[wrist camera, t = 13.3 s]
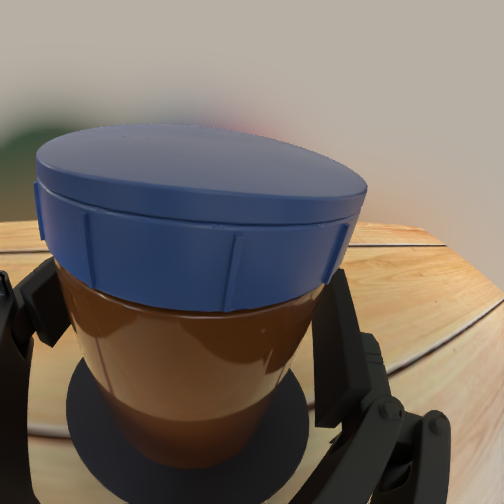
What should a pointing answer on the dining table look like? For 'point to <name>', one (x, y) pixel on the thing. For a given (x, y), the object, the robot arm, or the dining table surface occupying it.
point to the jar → (185, 369)
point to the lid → (194, 214)
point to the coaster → (189, 480)
